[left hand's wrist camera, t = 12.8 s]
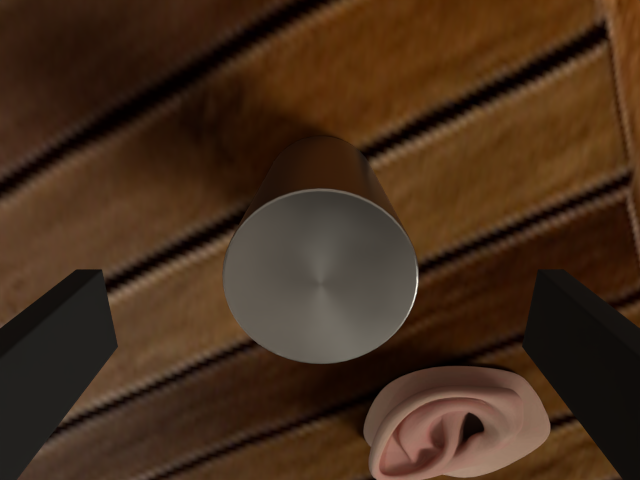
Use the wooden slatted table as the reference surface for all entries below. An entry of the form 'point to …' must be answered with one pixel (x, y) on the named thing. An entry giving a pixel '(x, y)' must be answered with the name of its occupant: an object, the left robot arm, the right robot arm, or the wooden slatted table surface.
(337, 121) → the wooden slatted table surface
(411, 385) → the anatomical model
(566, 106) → the wooden slatted table surface
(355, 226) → the canister
